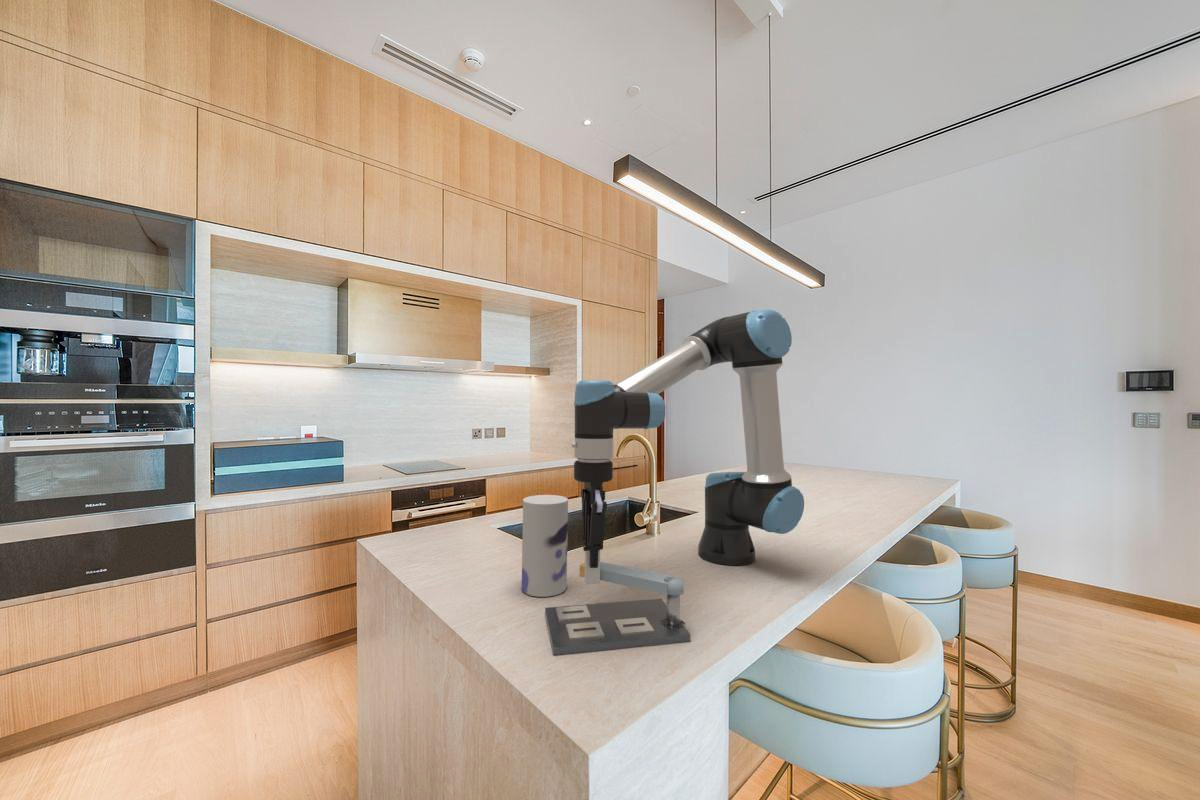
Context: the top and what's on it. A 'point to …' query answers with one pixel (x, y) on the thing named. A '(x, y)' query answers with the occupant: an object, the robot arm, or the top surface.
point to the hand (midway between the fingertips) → (592, 582)
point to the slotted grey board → (611, 626)
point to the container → (544, 545)
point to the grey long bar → (639, 579)
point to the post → (673, 612)
